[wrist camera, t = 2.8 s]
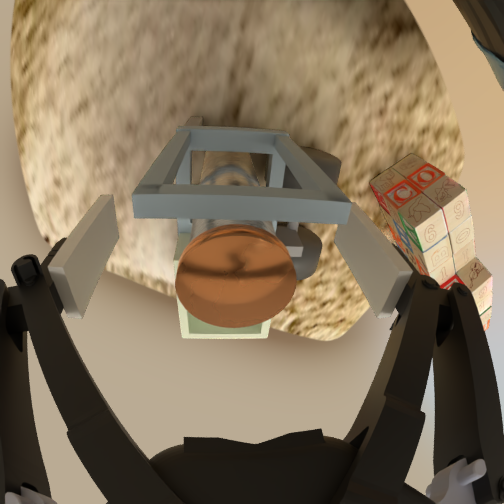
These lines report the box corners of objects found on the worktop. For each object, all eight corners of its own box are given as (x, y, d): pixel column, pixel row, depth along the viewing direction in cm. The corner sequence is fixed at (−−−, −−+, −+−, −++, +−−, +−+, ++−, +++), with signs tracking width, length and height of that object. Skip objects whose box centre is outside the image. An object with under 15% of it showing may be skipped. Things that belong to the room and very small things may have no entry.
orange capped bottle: (202, 133, 23) (171, 234, 9) (255, 135, 24) (307, 237, 10) (200, 182, 26) (180, 327, 12) (250, 184, 26) (285, 327, 12)
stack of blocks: (365, 181, 27) (435, 249, 17) (410, 151, 25) (492, 204, 15) (414, 293, 38) (453, 356, 28) (446, 271, 36) (490, 329, 26)
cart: (189, 114, 22) (128, 191, 8) (331, 126, 24) (463, 215, 9) (189, 259, 30) (175, 414, 16) (304, 261, 32) (354, 401, 18)
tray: (179, 232, 20) (173, 260, 17) (273, 235, 21) (282, 262, 18) (184, 308, 24) (181, 338, 22) (262, 309, 25) (267, 338, 23)
